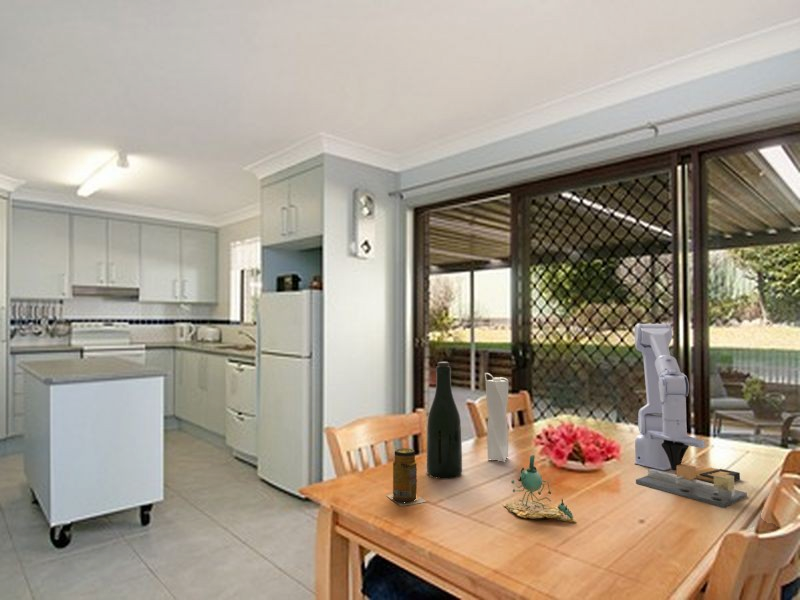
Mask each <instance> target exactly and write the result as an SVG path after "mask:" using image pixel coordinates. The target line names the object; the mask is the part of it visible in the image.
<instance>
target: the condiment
mask: <svg viewBox="0 0 800 600" xmlns="http://www.w3.org/2000/svg"><path fill="white" fill-rule="evenodd" d="M417 470H418V469H417V461H416V452H415V450H414V449H412V448H405V447H403V448H397V449H396V450H395V451H394V461H393V462H392V493H391V494H390V493H389V494H386V497H387V498H389V499H390V500H392V502H394V503H395V504H397V505H399V506H400V507H402V506H403V507H405V506H410V505H411V506H412V505H417V504H421V503H422V504H423V503H427V501H426V500H425V499H424V498H422V497H421V496H419V499H418V500H416V501H414V500H415V499H416V495H417V489H418V487H417V485H418V483H417V482H418V479H417V478H418V477H417V473H418V471H417ZM392 495H393V497H391V496H392ZM391 498H393V499H391ZM404 502H405V503H404Z"/></svg>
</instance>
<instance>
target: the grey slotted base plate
mask: <svg viewBox="0 0 800 600" xmlns="http://www.w3.org/2000/svg"><path fill="white" fill-rule="evenodd" d="M676 477H677V474H675V473H671V472H668V471H664V470H659V469H655V468H649V469H647V475H645V476H642V477H639V478H637V479H635V484H638V485H641V486H645V487H648V488H650V489H651V488H652V489H655V490H659V491H662V492H665V493H666V492H667V493H670V494H674V495H676V496H677V495H678V496H681V497H684V498H687V499H692V500H695V501H698V502H702V503H706V504H708V505H713V506H716V507H720V508H727V507H729V506H730V505H732V504H735V503H737V502H739V501H741V500H742V499H743V500H744V499H745V498H747V497H748V492H745V491H741V490H738V489H735V481H734V476H732V475H727V474H723V473H719V474H716V475H714V484H712V483H708V482H704V481H700V480H699V479H695V478H693V479H691V480H687V479H682V480H680V485H676Z"/></svg>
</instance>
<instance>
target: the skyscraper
mask: <svg viewBox="0 0 800 600" xmlns="http://www.w3.org/2000/svg"><path fill="white" fill-rule="evenodd" d="M487 375H488V376H490V377H491V379H487ZM484 379H485V396H486V397H485V398H486V407H487V408H486V409H487V413H488V416H487V433H486V434H487V438H486V440H487V441H486V443H487V460H488V459H491V460H498V461H497V462H499V461H505V460H506V461H507V459H508V458H509V430H508V429H509V428H508V420H507V410H508V401H509V379H508V378H506V377H502V376H501V377H494V376H493V375H492V374H491V373H489V372H484ZM507 457H508V458H507ZM506 458H507V459H506ZM506 461H505V462H506Z"/></svg>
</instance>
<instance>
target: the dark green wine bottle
mask: <svg viewBox="0 0 800 600" xmlns="http://www.w3.org/2000/svg"><path fill="white" fill-rule="evenodd" d="M435 372H436V383H435V392H434V397H433V401H432V403H431V406H430V407H429V408H430V409H429V411H428V415H427V423H426V473H427V475H429V476H430V475H431V477H432V476H433V478H436V477H437V479H443V478H448V479H454V478H458V477H460V476H461V475H462V473H463V448H462V447H463V444H462V441H463V439H462V424H461V422H462V421H461V416H460V412H459V409H458V407H457V404H456V402H455V398H454V395H453V390H452V380H451V378H452V374H451V373H452V368H451V366H450V362H448V361H439V362H437V366H436V368H435Z"/></svg>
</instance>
